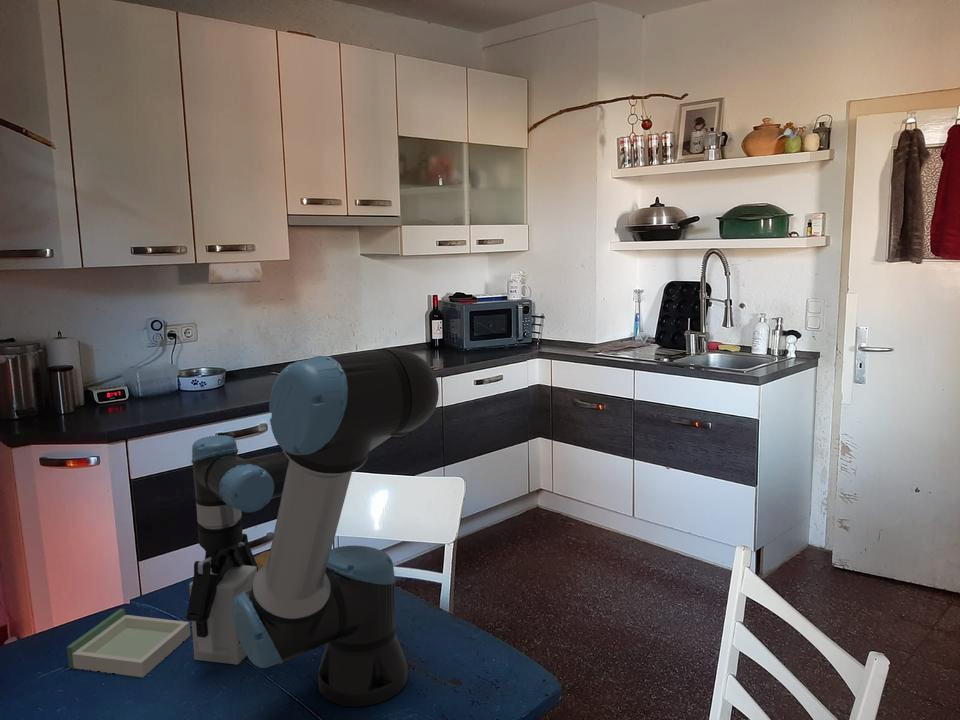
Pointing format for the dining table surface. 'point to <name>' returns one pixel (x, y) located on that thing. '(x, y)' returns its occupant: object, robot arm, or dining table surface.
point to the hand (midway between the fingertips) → (227, 631)
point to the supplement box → (226, 617)
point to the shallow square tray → (127, 644)
